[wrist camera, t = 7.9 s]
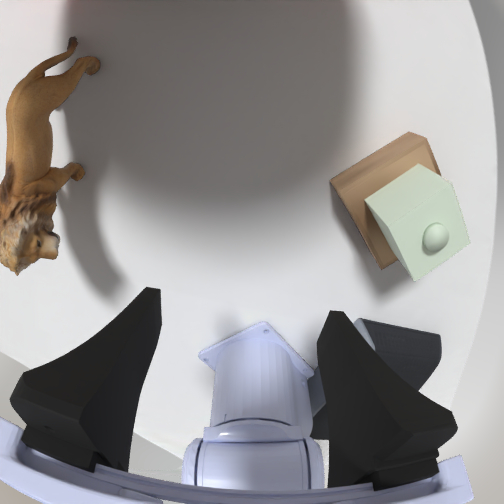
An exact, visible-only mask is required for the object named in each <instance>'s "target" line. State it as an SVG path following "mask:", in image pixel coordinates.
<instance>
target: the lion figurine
mask: <svg viewBox="0 0 504 504" xmlns="http://www.w3.org/2000/svg"><path fill="white" fill-rule="evenodd" d="M77 45H78V42H77V39H76V37H71V38H70V39H69V44H68V48H67V50H68V51H67V52H65V53H62V54H60V55H57V56H54V57H52V58H49V59H47V60H45V61H43V62H42V63H40V64H39V65H38V66H36V67H35V68H33V69H32V70H31V71H30V72H29V73H28V75H27V76H26V77H25V78H23V79H22V80H21V81H20V82H19V83H18V84H17V85H16V87H15V88H14V90H13V91H12V94H11V96H10V98H9V101H8V103H7V107H6V122H7V151H6V173H5V176H4V179H3V181H2V182H1V184H0V262H1V264H3V265H4V266H5V267H8V268H9V269H10V270H11V271H13V272H15V274H16V275H17V276H18V275H19V273H20V272H21V271H22V270H23V269H26V268H27V267H28V266H29V265H30V264H31V263H35V262H36V261H37V260H38V259H40V258H46V259H52V260H54V259H56V258H57V256H58V247H59V243H60V236H59V235H58V234H56V233H54V232H52V230H53V227H54V223H53V220H52V215H53V213H54V212H55V209H56V206H57V205H56V198H57V197H56V192H57V191H58V190H59V189H60V188H62V187H63V186H64V184H65V183H66V182H67V181H68V179H69V178H70V177H71V178H72V179H74V180H75V181H78V180H79V179H82V177H83V176H84V174H85V172H84V169H83V168H82V166H81V165H80V164H78V163H73V162H71V163H69V164H68V165H66V166H65V167H64V168H56V167H50V165H51V158H52V150H53V133H52V127H51V124H50V122H49V116H50V114H51V112H52V111H53V110H54V109H56V108H57V107H58V106H60V105H61V104H62V103H63V102H64V101H65V100H66V99H67V98H68V97H69V95H70V94H71V93H72V92H73V90H74V89H75V87H76V86H77V84H78V82H79V80H80V78H81V76H82V74H83V73H84V71H85V72H86V73H87V74H88V75H92V74H95V73H96V72H97V71H98V70H99V68H100V62H99V60H98V59H97V58H95V57H91V56H87V57H83V58H79V59H77V60H76V62H75V64H74V65H73V66H72V67H71V68H70V69H69V70H67V71H66V72H65V73H63V74H60V75H55V76H46V77H45V71H46V70H47V69H49V68H51V67H53V66H55V65H57V64H58V63H60V62H62V61H64V60H66V59H67V58H69V57H70V56H71V55H72V54H73V53H74V51H75V49H76V47H77Z"/></svg>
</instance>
